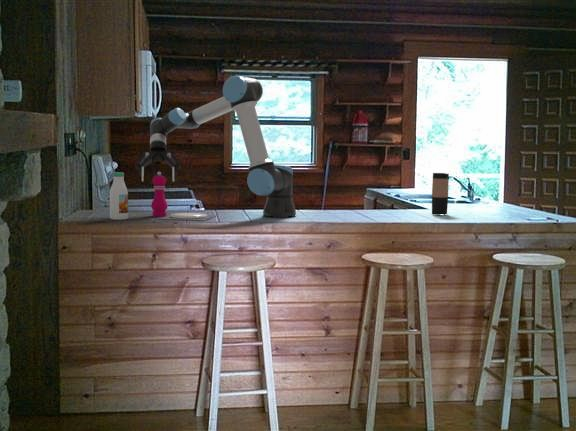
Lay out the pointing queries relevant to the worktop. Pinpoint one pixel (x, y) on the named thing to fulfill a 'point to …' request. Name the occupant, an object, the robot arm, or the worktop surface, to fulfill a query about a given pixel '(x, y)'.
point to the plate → (188, 215)
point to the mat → (188, 219)
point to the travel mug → (440, 193)
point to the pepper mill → (159, 196)
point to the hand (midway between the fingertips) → (158, 179)
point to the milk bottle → (118, 198)
